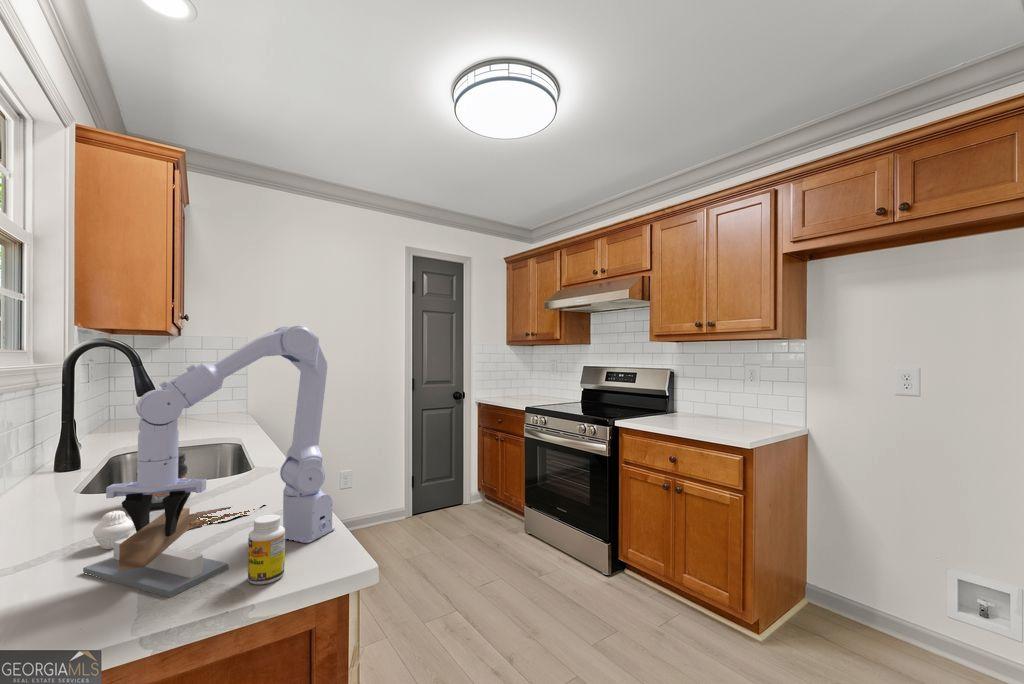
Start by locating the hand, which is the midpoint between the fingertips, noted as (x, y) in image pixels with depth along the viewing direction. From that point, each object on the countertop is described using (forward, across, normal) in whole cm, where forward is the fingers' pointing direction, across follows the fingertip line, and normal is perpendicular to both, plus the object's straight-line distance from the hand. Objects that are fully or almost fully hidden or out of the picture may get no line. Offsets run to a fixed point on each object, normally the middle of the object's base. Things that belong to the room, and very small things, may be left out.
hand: (157, 535), depth 81 cm
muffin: (+6, +14, -14) cm, 21 cm away
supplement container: (+6, +17, -40) cm, 44 cm away
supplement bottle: (+6, -19, +7) cm, 22 cm away
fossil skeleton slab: (+7, 0, -27) cm, 27 cm away
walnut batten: (+2, 0, 0) cm, 2 cm away
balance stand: (+6, 0, 0) cm, 6 cm away
